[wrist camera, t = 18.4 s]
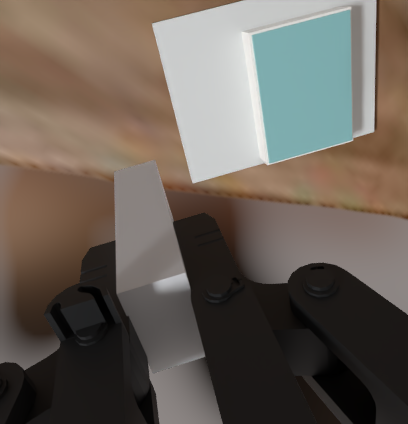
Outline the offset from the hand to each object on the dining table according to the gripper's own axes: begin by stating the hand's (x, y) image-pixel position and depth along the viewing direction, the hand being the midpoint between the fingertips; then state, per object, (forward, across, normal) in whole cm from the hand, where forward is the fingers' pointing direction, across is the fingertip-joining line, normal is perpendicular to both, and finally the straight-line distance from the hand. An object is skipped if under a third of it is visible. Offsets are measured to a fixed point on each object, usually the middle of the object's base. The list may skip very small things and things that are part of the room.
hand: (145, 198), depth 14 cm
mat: (+23, +14, -4) cm, 27 cm away
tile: (+21, +11, -4) cm, 24 cm away
